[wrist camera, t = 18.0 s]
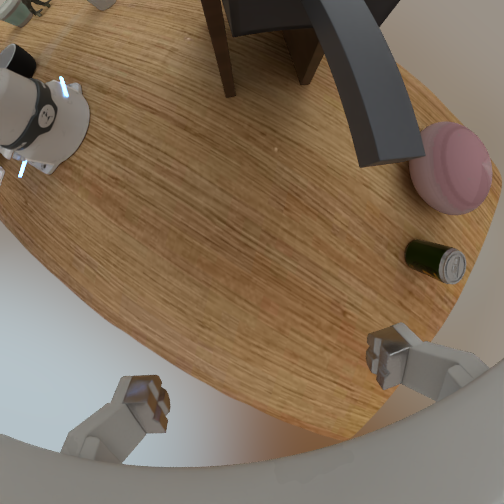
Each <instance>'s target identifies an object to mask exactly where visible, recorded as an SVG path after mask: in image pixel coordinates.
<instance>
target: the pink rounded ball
mask: <svg viewBox="0 0 504 504" xmlns="http://www.w3.org/2000/svg"><path fill="white" fill-rule="evenodd" d="M420 134H421V138H422V142H423V146H424V150H425V154H426V156H424V157H420V158H416V159H412V160H409V170H410V176H411V179H412V182H413V184H414V187H415V189H416V190H417V192H418V194H419V195H420V196H421V198H422V199H423V200H424V201H425V202H426V203H427V204H428V205H430V206H431V207H432V208H434V209H435V210H437V211H439V212H442V213H445V214H449V215H461V214H466V213H468V212H471V211H473V210H474V209H476V208H477V207H478V206H479V205H480V204H481V203H482V202H483V201H484V200H485V198H486V196H487V195H488V192H489V190H490V187H491V182H492V165H491V160H490V157H489V154H488V152H487V150H486V148H485V146H484V144H483V143H482V142H481V140H480V139H479V138H478V137H477V135H475V134H474V133H473V132H472V131H471V130H469V129H468V128H466V127H465V126H462V125H460V124H457V123H453V122H438V123H435V124H432V125H430V126H428V127H426V128H425V129H424V130H422V131H421V132H420Z"/></svg>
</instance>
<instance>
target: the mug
mask: <svg viewBox="0 0 504 504" xmlns="http://www.w3.org/2000/svg"><path fill="white" fill-rule="evenodd" d="M0 68H6V69H8V70H10V71H13V72H15V73H17V74H19V75H21V76H23V77H25V78H27V79H28V78H31V77H32V75H33V73H34V71H35V69H36V62H35V60H34V59H33V57H32V56H31V55H30V54H29V53H27V52H26V51H25V50H24V49H22V48H21V47H19V46H18V45H16V44H10V45H8V46H7V47H6V48H5V49H4V50H3V51H2V52H1V53H0Z"/></svg>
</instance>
